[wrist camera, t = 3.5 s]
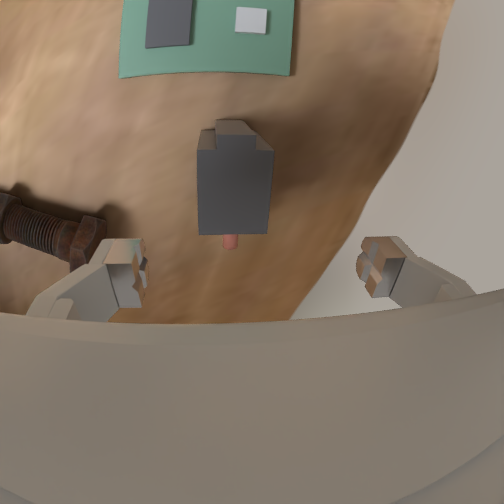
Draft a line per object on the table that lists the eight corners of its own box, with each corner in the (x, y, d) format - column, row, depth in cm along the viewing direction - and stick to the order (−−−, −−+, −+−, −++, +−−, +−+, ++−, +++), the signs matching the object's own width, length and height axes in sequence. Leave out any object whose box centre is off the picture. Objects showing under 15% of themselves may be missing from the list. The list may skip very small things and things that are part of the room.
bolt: (-4, 185, 20) (112, 221, 24) (-14, 232, 19) (98, 274, 24) (-33, 177, 14) (96, 218, 18) (-45, 233, 14) (80, 285, 18)
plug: (249, 213, 24) (264, 261, 18) (201, 214, 23) (200, 263, 17) (255, 120, 20) (275, 135, 14) (201, 119, 19) (197, 134, 13)
